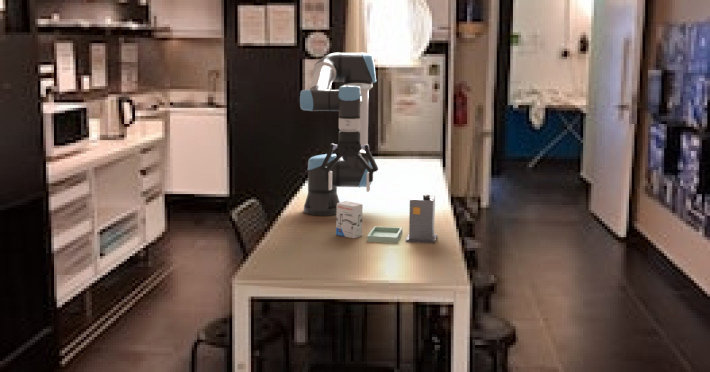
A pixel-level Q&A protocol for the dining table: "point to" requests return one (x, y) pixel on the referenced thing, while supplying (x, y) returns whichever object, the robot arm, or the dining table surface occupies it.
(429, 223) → the control unit
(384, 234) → the tray
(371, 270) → the dining table surface
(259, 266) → the dining table surface
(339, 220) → the ink box
